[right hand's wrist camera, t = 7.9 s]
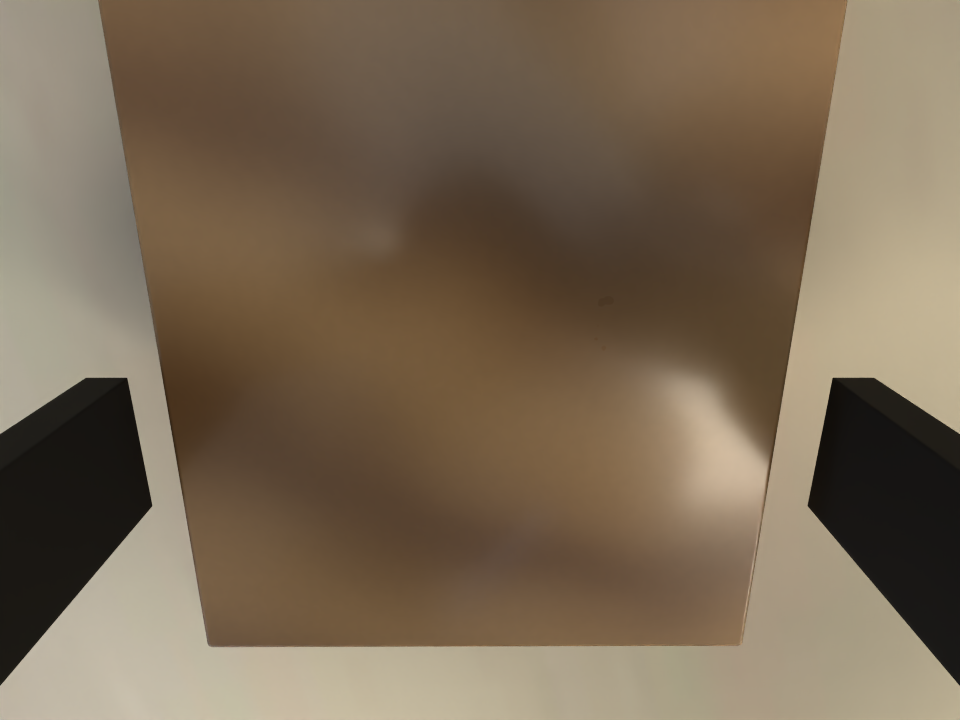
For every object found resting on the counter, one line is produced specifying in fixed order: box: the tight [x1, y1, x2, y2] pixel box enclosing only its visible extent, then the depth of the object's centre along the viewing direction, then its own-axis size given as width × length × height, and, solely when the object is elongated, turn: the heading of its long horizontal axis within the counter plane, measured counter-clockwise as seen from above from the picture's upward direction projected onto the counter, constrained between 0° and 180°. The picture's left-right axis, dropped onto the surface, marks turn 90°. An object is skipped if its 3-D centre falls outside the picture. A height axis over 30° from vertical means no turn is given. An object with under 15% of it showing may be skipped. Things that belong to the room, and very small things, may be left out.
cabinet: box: [98, 0, 847, 647], centre depth 14 cm, size 19×11×9 cm, turn 0°
